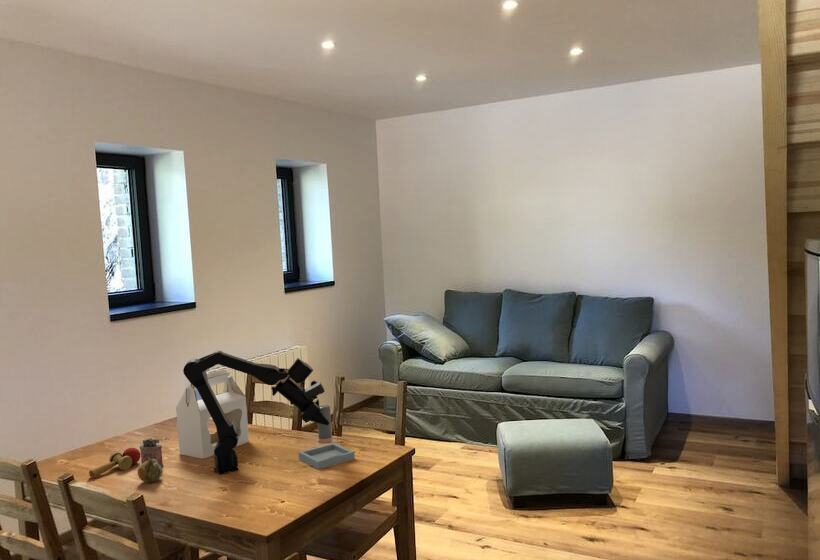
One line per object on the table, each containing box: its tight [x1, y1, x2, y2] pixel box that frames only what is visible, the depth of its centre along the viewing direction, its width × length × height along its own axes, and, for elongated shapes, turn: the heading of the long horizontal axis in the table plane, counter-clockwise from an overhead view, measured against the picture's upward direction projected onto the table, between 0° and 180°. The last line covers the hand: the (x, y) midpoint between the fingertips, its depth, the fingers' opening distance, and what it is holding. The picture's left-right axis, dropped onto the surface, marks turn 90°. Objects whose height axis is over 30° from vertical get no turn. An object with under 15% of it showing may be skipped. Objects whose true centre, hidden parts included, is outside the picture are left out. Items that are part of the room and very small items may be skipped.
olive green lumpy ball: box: [137, 458, 164, 484], centre depth 218 cm, size 8×8×8 cm
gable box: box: [175, 369, 250, 460], centre depth 249 cm, size 22×13×28 cm, turn 147°
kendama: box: [88, 447, 141, 479], centre depth 231 cm, size 8×6×18 cm
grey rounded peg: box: [317, 404, 333, 445], centre depth 230 cm, size 5×5×12 cm
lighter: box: [139, 437, 164, 469], centre depth 232 cm, size 8×3×10 cm, turn 76°
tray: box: [298, 442, 356, 470], centre depth 230 cm, size 14×14×2 cm
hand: (328, 422), depth 230 cm, fingers closed on grey rounded peg, 4 cm apart
